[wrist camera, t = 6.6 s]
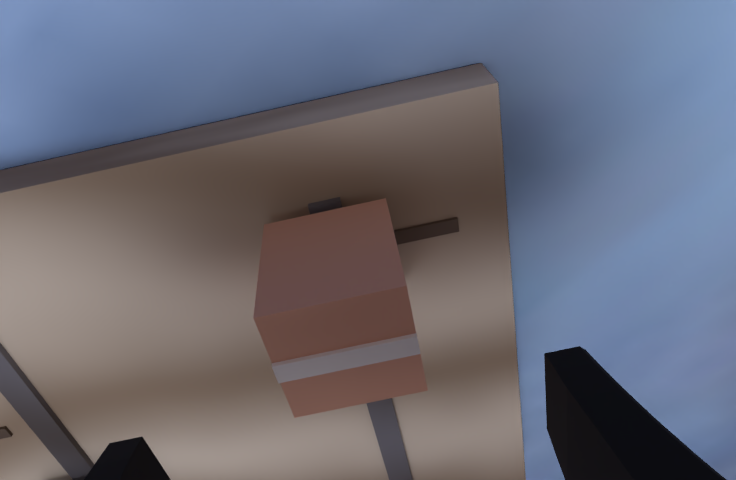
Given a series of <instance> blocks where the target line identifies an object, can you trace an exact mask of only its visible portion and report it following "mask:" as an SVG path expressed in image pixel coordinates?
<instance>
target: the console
mask: <svg viewBox="0 0 736 480" xmlns="http://www.w3.org/2000/svg"><path fill="white" fill-rule="evenodd" d="M384 198H386V201H387V205H388V209H389V213H390V217H391V222H392V226H393V230H394V234H395V238H396V243H397V247H398V251H399V255H400V259H401V264H402V268H403V272H404V276H405V281H406V285H407V290H408V294H409V299H410V304H411V309H412V314H413V319H414V324H415V329H416V334H417V338H418V343H419V348H420V353H421V359H422V364H423V369H424V374H425V378H426V383H427V388H428V391H423V392H419V393H414V394H409V395H404V396H399V397H394V398H389V399H385V400H380V401H375V402H370V403H365V404H360V405H355V406H350V407H346V408H341V409H336V410H331V411H326V412H321V413H316V414H311V415H307V416H302V417H297V418H294V416H293V413H292V411H291V408H290V406H289V403H288V401H287V399H286V396H285V394H284V391H283V389H282V386H281V384H280V383H278V381H277V379H276V376H275V374H274V371H273V369H272V362H271V360H270V357H269V355H268V353H267V350H266V348H265V345H264V343H263V341H262V338H261V336H260V333H259V331H258V328H257V326H256V324H255V321H254V319H253V316H254V307H255V299H256V290H257V281H258V272H259V263H260V255H261V246H262V237H263V228H264V224H269V223H273V222H278V221H283V220H287V219H292V218H296V217H301V216H306V215H310V214H315V213H320V212H324V211H329V210H333V209H338V208H343V207H347V206H352V205H356V204H361V203H366V202H370V201H375V200H379V199H384ZM137 437H143V438H144V440H145V441H146V443H147V444H148V446H149V447H150V449H151V450H152V452H153V453H154V455H155V456H156V458H157V459H158V461H159V463H160V464H161V466H162V467H163V469H164V470H165V472H166V473H167V475H168V476H169V478H170V479H171V480H526V478H525V464H524V449H523V435H522V420H521V406H520V391H519V377H518V362H517V348H516V334H515V319H514V305H513V290H512V276H511V261H510V247H509V232H508V218H507V203H506V189H505V174H504V160H503V145H502V131H501V116H500V102H499V87H498V82H497V81H496V79H495V78H494V77H493V76H492V75H491V74H490V72H489V71H488V70H487V69H486V68H485V67H484V66H483V64H482V63H479V64H474V65H470V66H465V67H461V68H456V69H452V70H447V71H443V72H438V73H434V74H429V75H425V76H420V77H416V78H411V79H407V80H402V81H398V82H394V83H389V84H385V85H380V86H376V87H371V88H367V89H362V90H358V91H353V92H349V93H344V94H340V95H335V96H331V97H326V98H322V99H317V100H313V101H309V102H304V103H300V104H295V105H291V106H286V107H282V108H277V109H273V110H268V111H264V112H259V113H255V114H250V115H246V116H241V117H237V118H232V119H228V120H224V121H219V122H215V123H210V124H206V125H201V126H197V127H192V128H188V129H183V130H179V131H174V132H170V133H165V134H161V135H156V136H152V137H147V138H143V139H138V140H134V141H130V142H125V143H121V144H116V145H112V146H107V147H103V148H98V149H94V150H89V151H85V152H80V153H76V154H71V155H67V156H62V157H58V158H53V159H49V160H45V161H40V162H36V163H31V164H27V165H22V166H18V167H13V168H9V169H4V170H0V480H84V479H85V477H86V476H87V474H88V473H89V472H90V470H91V469H92V467H93V466H94V464H95V463H96V461H97V460H98V459H99V457H100V456H101V454H102V453H103V452H104V450H105V449H106V447H107V446H108V445H109V443H113V442H118V441H123V440H127V439H132V438H137Z"/></svg>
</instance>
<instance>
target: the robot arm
mask: <svg viewBox="0 0 736 480" xmlns="http://www.w3.org/2000/svg"><path fill="white" fill-rule="evenodd" d="M544 355H545V384H546V414H547V430H548V433H549V436H550V439H551V442H552V444H553V447H554V450H555V453H556V456H557V459H558V461H559V464H560V467H561V470H562V472H563V475H564V478H565V480H726V479H725V478H724V477H722V476H721V475H720V474H719V473H717V472H716V471H715V470H714V469H713V468H711V467H710V466H709V465H708V464H707V463H706V462H704V461H703V460H702V459H701V458H700V457H698V456H697V455H696V454H695V453H694V452H693V451H691V450H690V449H689V448H688V447H687V446H686V445H685V444H683V443H682V442H681V441H680V440H679V439H678V438H677V437H676V436H674V435H673V434H672V433H671V432H670V431H669V430H668V429H666V428H665V427H664V426H663V425H662V424H661V423H660V422H659V421H657V420H656V419H655V418H654V417H653V416H652V415H651V414H650V413H649V412H648V411H647V410H646V409H644V408H643V407H642V406H641V405H640V404H639V403H638V402H637V401H636V400H635V399H634V398H633V397H632V396H631V395H630V394H629V393H628V392H627V391H626V390H624V389H623V388H622V387H621V386H620V385H619V384H618V383H617V382H616V381H615V380H614V379H613V378H612V377H611V376H610V375H609V374H608V373H607V372H606V371H605V370H604V369H603V368H602V367H601V366H600V365H599V364H598V363H597V362H596V360H595V359H594V358H593V357H592V356H591V355H590V354H589V353H588V352H587V351H586V350H585V349H583V348H581V347H580V346H579V347H574V348H569V349H564V350H559V351H555V352H550V353H545V354H544ZM84 480H171V479H170V478H169V476H168V475H167V473H166V472H165V470H164V469H163V467H162V466H161V464H160V463H159V461H158V459H157V458H156V456H155V455H154V453H153V452H152V450H151V449H150V447H149V446H148V444H147V443H146V441H145V440H144V438H143V437H137V438H132V439H127V440H123V441H118V442H113V443H109V445H108V446H107V447H106V449H105V450H104V452H103V453H102V454H101V456H100V457H99V459H98V460H97V461H96V463H95V464H94V466H93V467H92V469H91V470H90V472H89V473H88V474H87V476H86V477H85V479H84Z"/></svg>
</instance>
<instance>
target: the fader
mask: <svg viewBox="0 0 736 480" xmlns="http://www.w3.org/2000/svg"><path fill="white" fill-rule="evenodd" d="M253 319H254V321H255V324H256V326H257V328H258V331H259V333H260V336H261V338H262V341H263V343H264V345H265V348H266V350H267V353H268V355H269V357H270V360H271V362H272V369H273V371H274V374H275V376H276V379H277V381H278V383H280V384H281V386H282V389H283V391H284V394H285V396H286V399H287V401H288V403H289V406H290V408H291V411H292V413H293V416H294V418H297V417H302V416H307V415H311V414H316V413H321V412H326V411H331V410H336V409H341V408H346V407H350V406H355V405H360V404H365V403H370V402H375V401H380V400H385V399H389V398H394V397H399V396H404V395H409V394H414V393H419V392H423V391H428V388H427V383H426V378H425V374H424V369H423V364H422V359H421V353H420V348H419V343H418V338H417V334H416V329H415V324H414V319H413V314H412V309H411V304H410V299H409V294H408V290H407V285H406V281H405V276H404V272H403V268H402V264H401V259H400V255H399V251H398V247H397V243H396V238H395V234H394V230H393V226H392V222H391V217H390V213H389V209H388V205H387V201H386V198H384V199H379V200H375V201H370V202H366V203H361V204H356V205H352V206H347V207H343V208H338V209H333V210H329V211H324V212H320V213H315V214H310V215H306V216H301V217H296V218H292V219H287V220H283V221H278V222H273V223H269V224H264V228H263V237H262V246H261V255H260V263H259V272H258V281H257V290H256V299H255V307H254V316H253Z"/></svg>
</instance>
